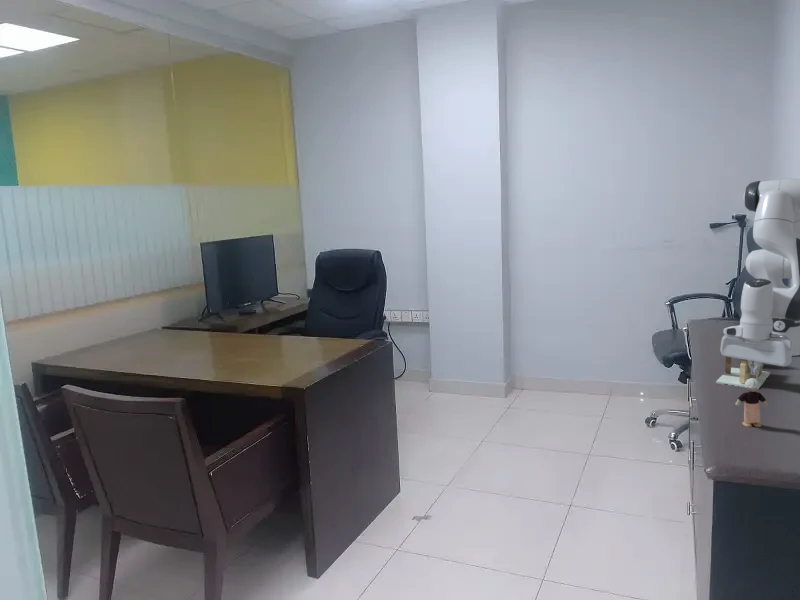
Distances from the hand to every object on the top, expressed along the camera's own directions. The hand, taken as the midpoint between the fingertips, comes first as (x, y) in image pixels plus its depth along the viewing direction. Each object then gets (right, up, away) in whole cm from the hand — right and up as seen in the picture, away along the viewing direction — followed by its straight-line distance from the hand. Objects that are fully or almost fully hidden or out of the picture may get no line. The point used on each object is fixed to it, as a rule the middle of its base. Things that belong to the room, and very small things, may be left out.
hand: (753, 374), depth 191 cm
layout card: (+1, -2, +8) cm, 9 cm away
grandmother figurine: (-19, -10, -31) cm, 38 cm away
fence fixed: (+6, -1, +9) cm, 12 cm away
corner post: (-1, -2, +13) cm, 13 cm away
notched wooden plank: (0, -2, +3) cm, 4 cm away
